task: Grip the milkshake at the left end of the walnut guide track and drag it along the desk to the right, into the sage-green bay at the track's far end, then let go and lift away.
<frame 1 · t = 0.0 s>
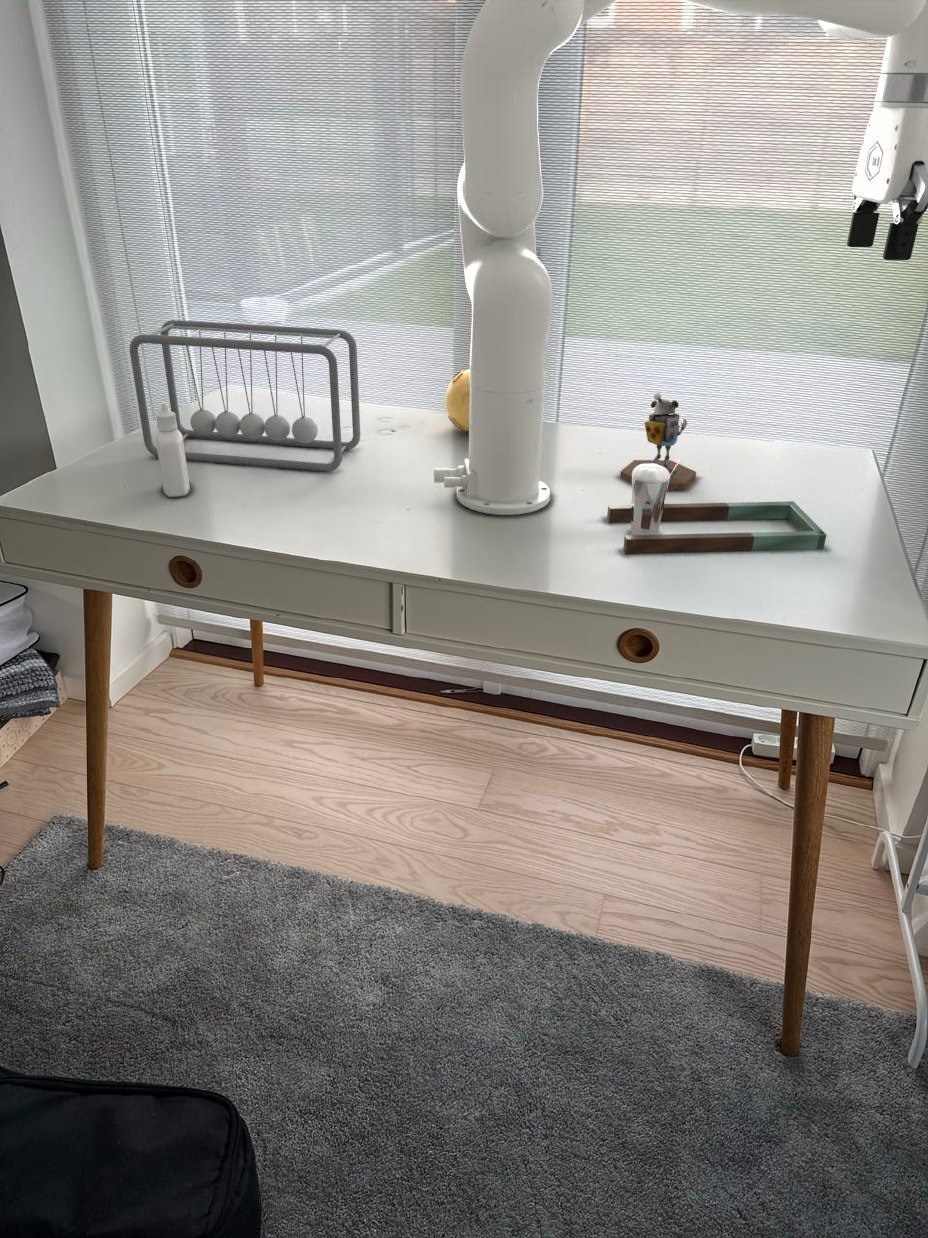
hand: (877, 252, 116), 31 cm above the table, tool pointing down, fingers open, 9 cm apart
slide track: (711, 534, 119), on the table
robot figurine: (658, 479, 135), on the table
milkshake: (647, 536, 118), on the table
eye dropper bottle: (177, 491, 129), on the table
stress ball: (476, 431, 152), on the table
newton's cradle: (255, 454, 142), on the table
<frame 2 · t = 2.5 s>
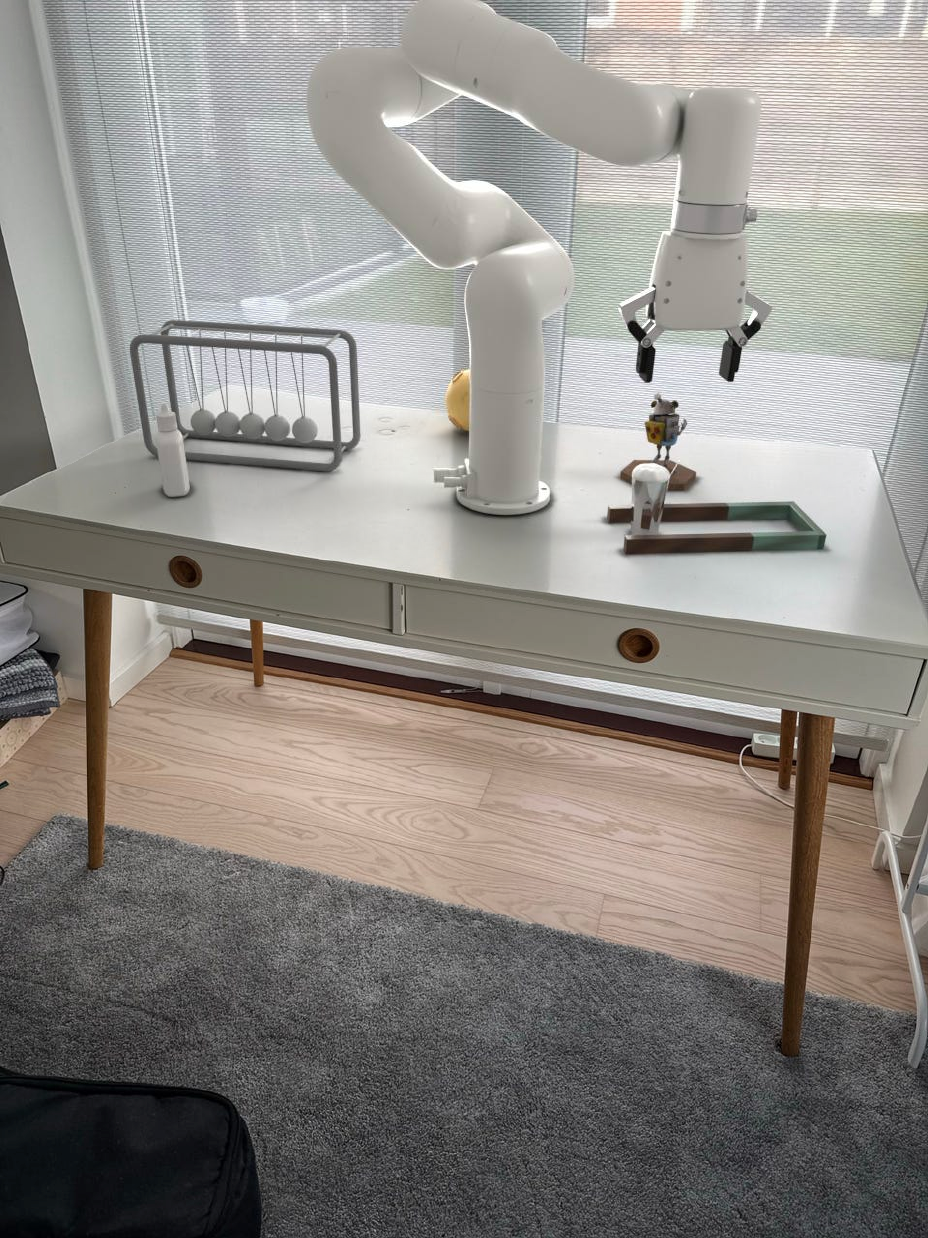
hand: (685, 379, 110), 19 cm above the table, tool pointing down, fingers open, 9 cm apart
nothing on the table moved.
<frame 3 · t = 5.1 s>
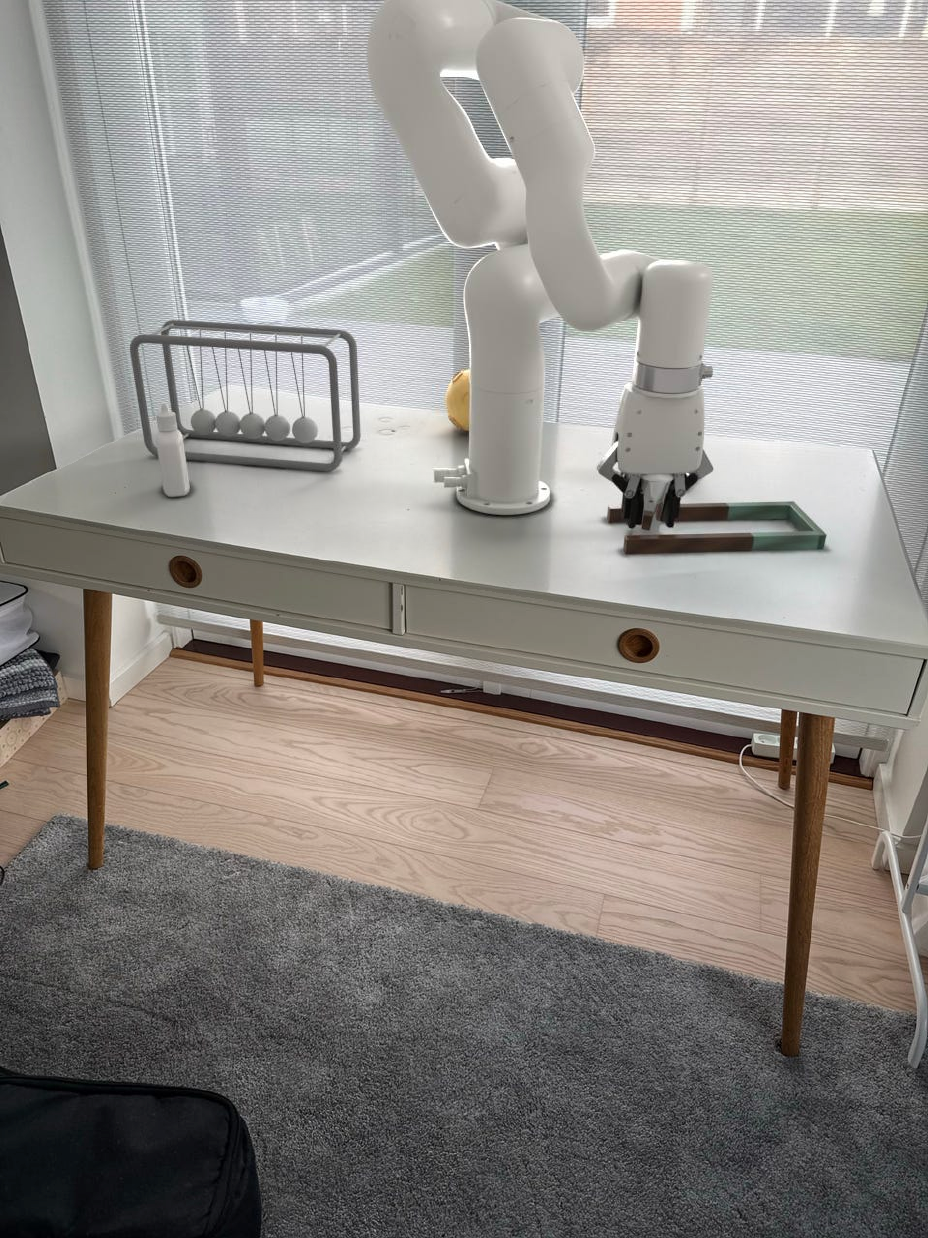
hand: (648, 522, 117), 2 cm above the table, tool pointing down, fingers closed on milkshake, 4 cm apart
milkshake: (647, 536, 118), on the table, touching gripper
everything else where it was.
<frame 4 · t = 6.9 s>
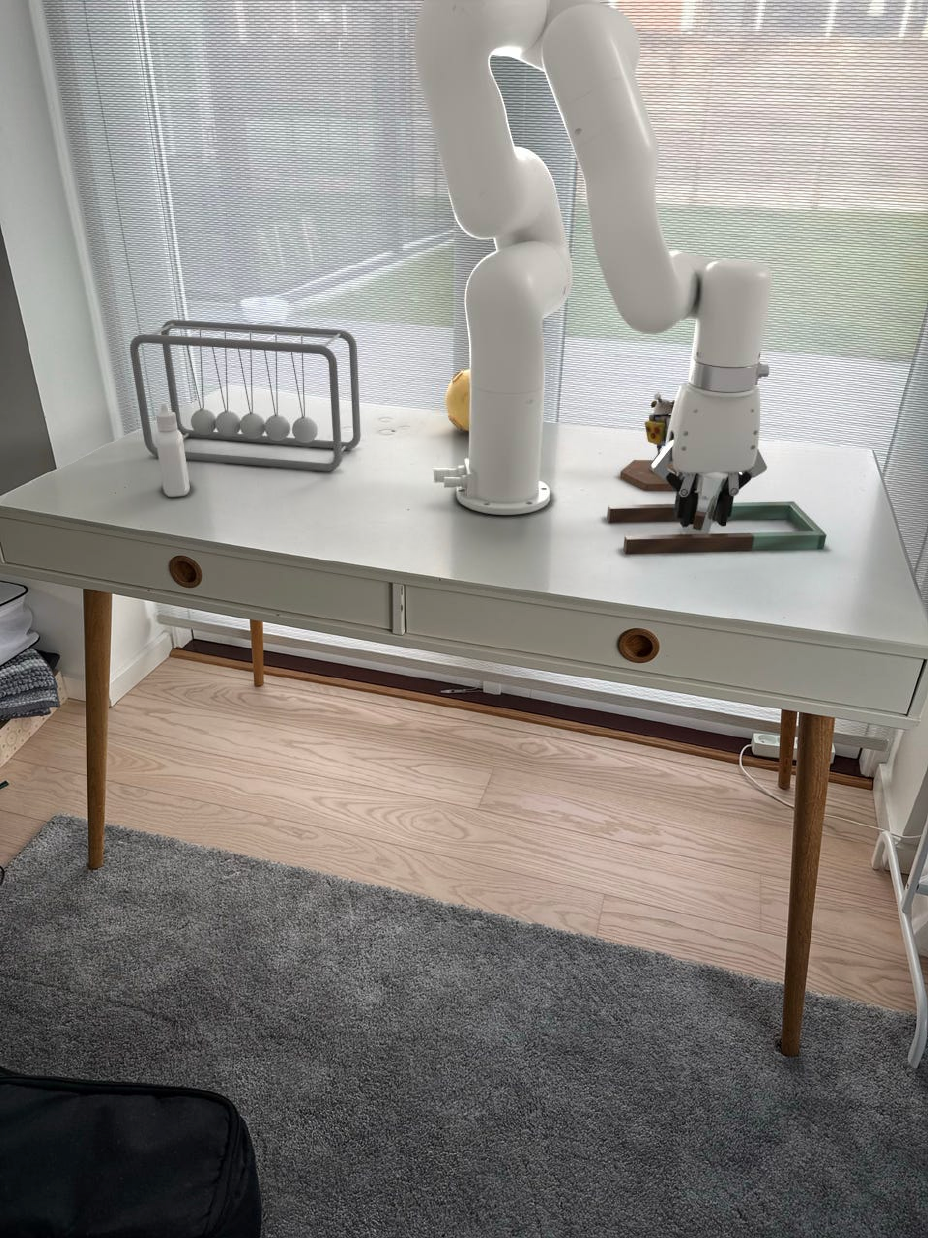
hand: (701, 520, 118), 2 cm above the table, tool pointing down, fingers closed on milkshake, 4 cm apart
milkshake: (698, 532, 118), on the table, touching gripper
everything else where it was.
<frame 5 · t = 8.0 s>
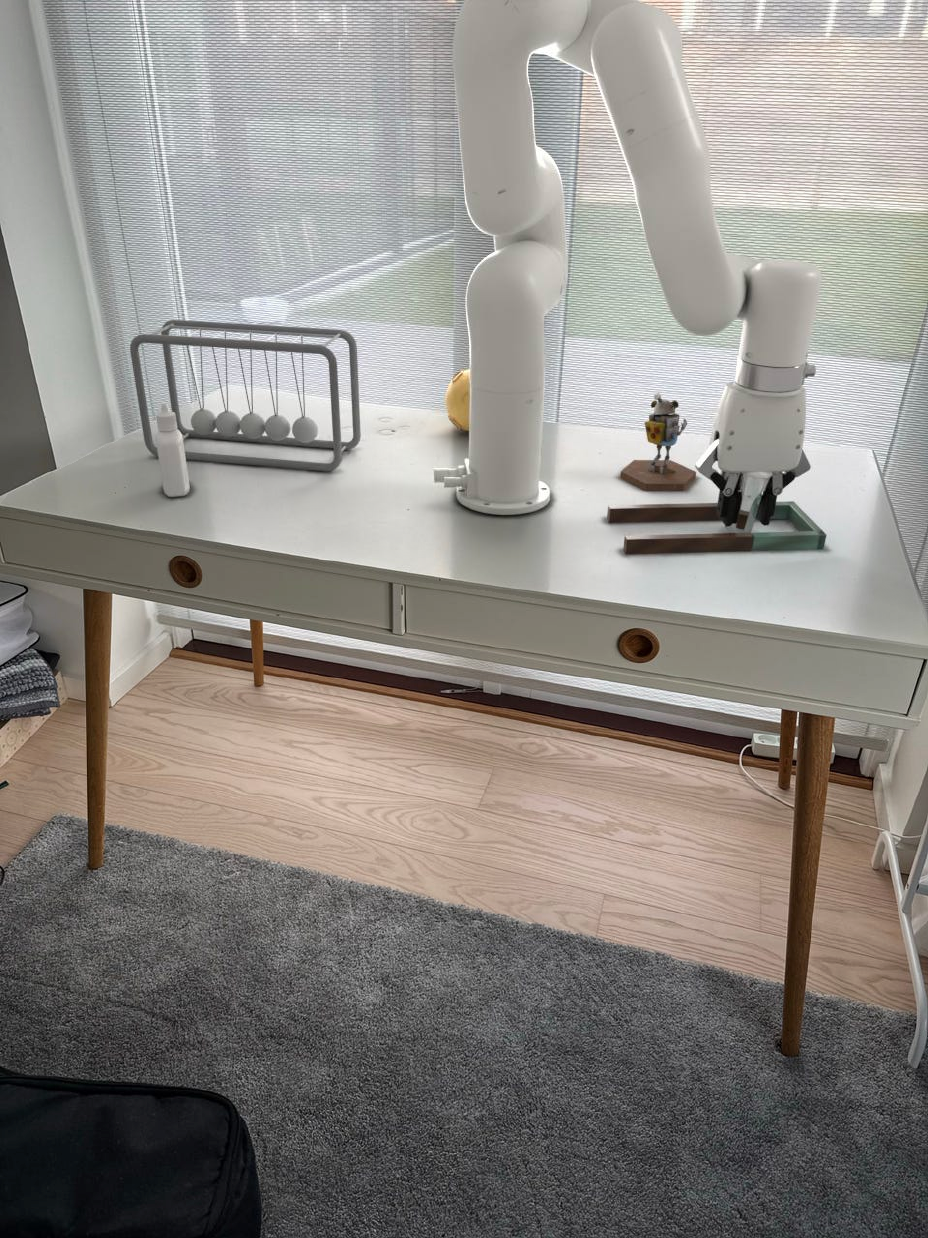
hand: (743, 520, 118), 2 cm above the table, tool pointing down, fingers closed on milkshake, 4 cm apart
milkshake: (740, 531, 119), on the table, touching gripper
everything else where it was.
when the fingers open (1 cm above the table, at t = 9.2 s): milkshake stays where it is, on the table.
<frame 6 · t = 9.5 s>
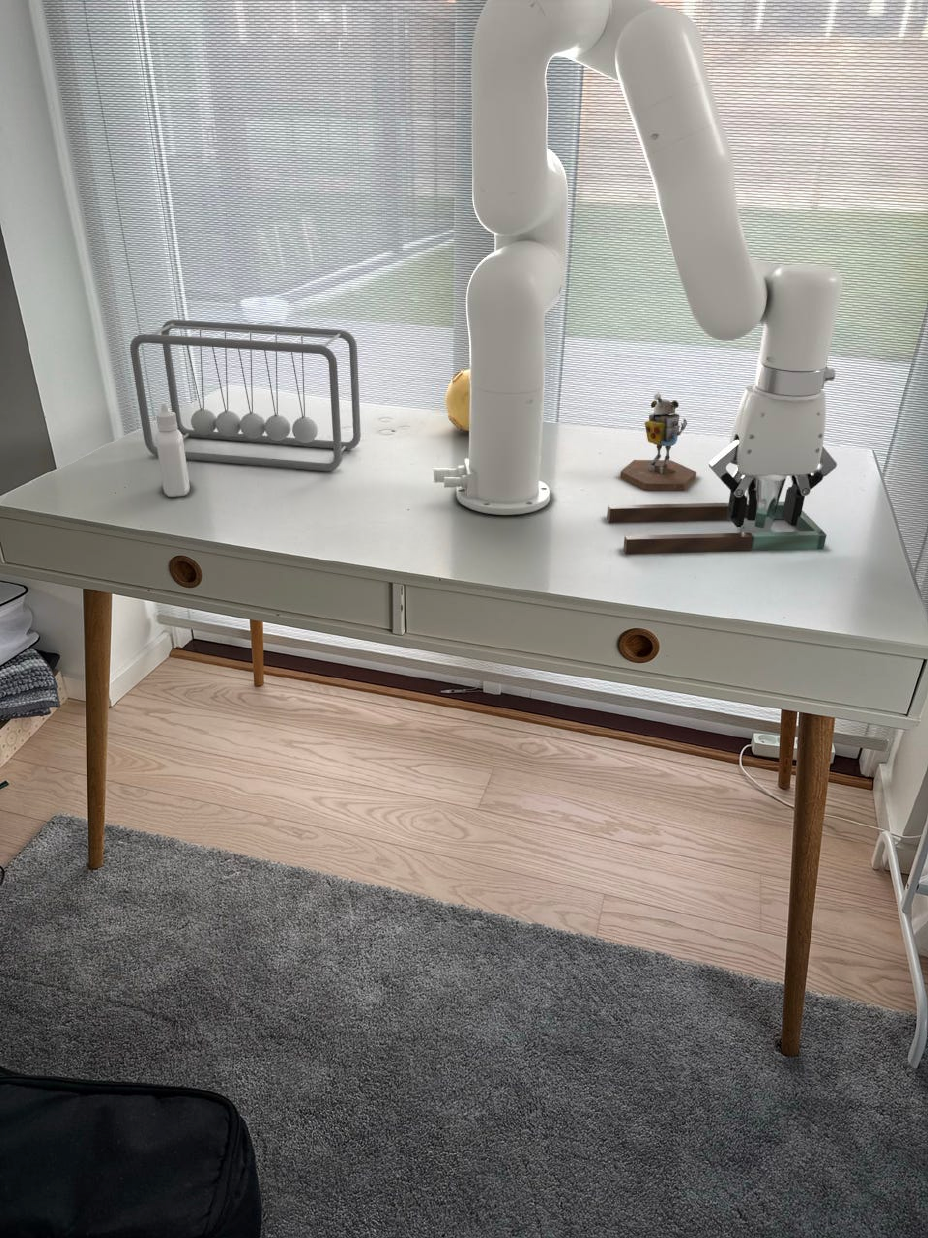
hand: (762, 521, 118), 2 cm above the table, tool pointing down, fingers open, 6 cm apart
milkshake: (759, 534, 119), on the table
everything else where it was.
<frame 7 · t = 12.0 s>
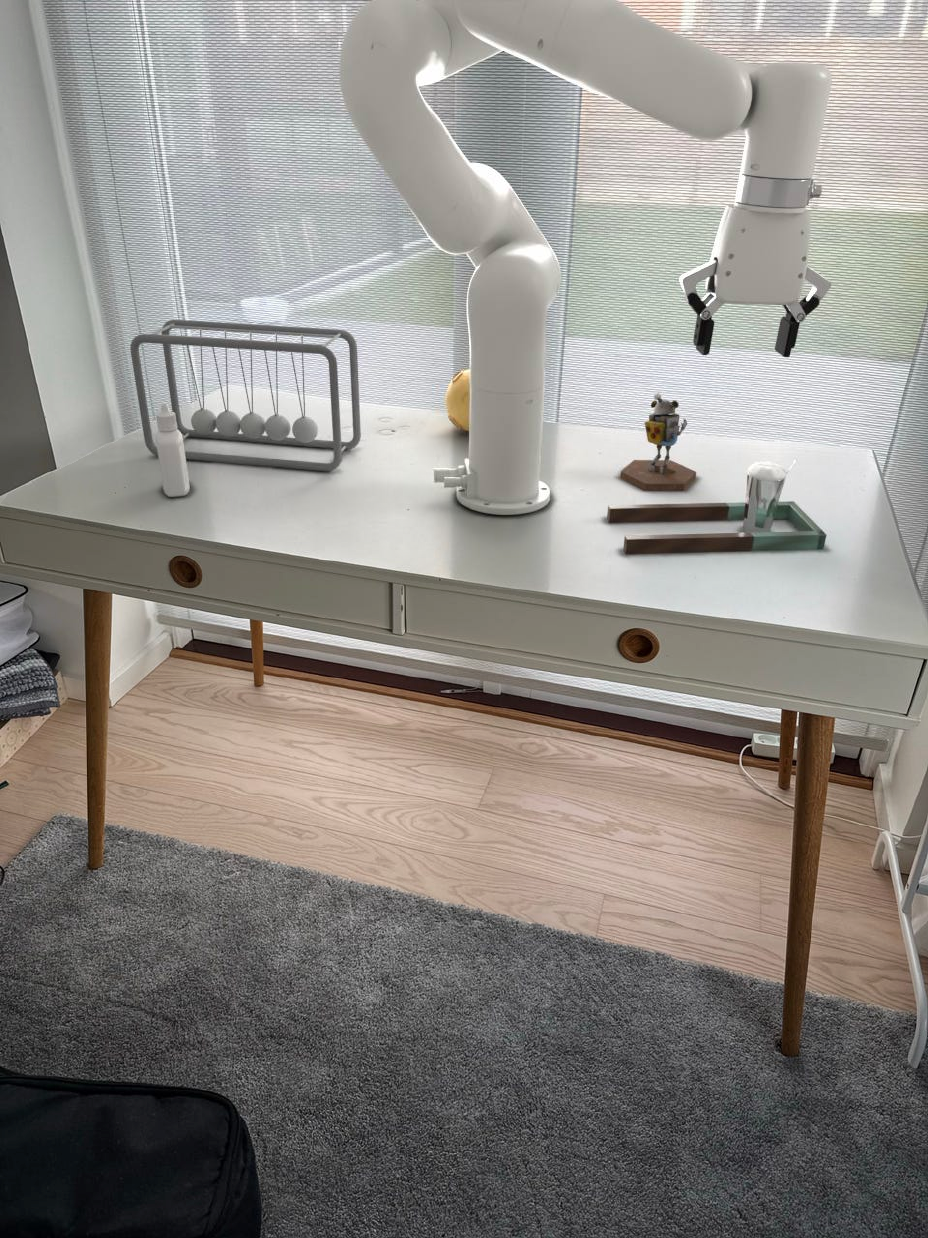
hand: (742, 353, 111), 22 cm above the table, tool pointing down, fingers open, 9 cm apart
nothing on the table moved.
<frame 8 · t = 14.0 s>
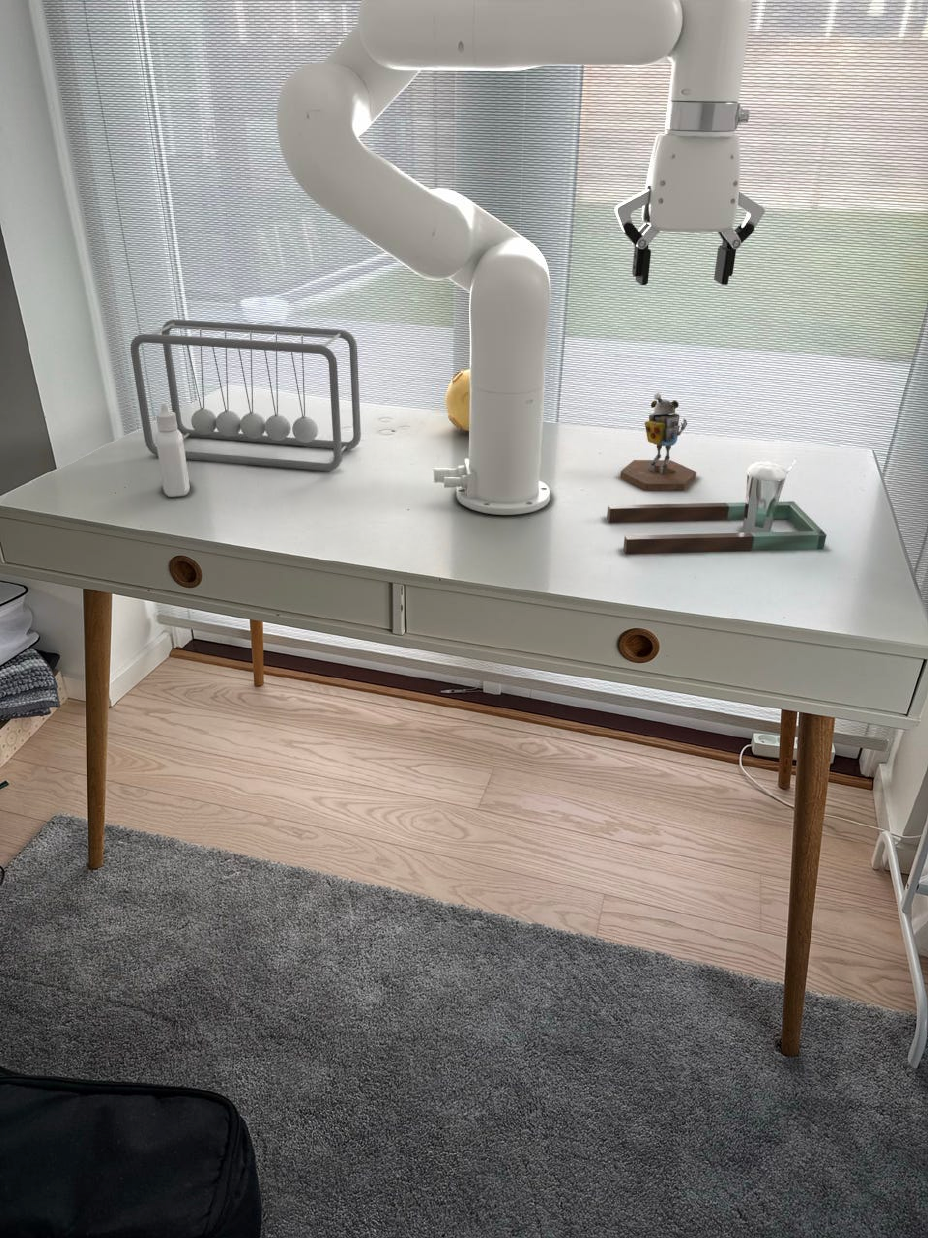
hand: (681, 282, 113), 28 cm above the table, tool pointing down, fingers open, 9 cm apart
nothing on the table moved.
at the end: milkshake 0.2 cm from the target spot, on the table; milkshake tilted 0°; the gripper is holding nothing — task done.
